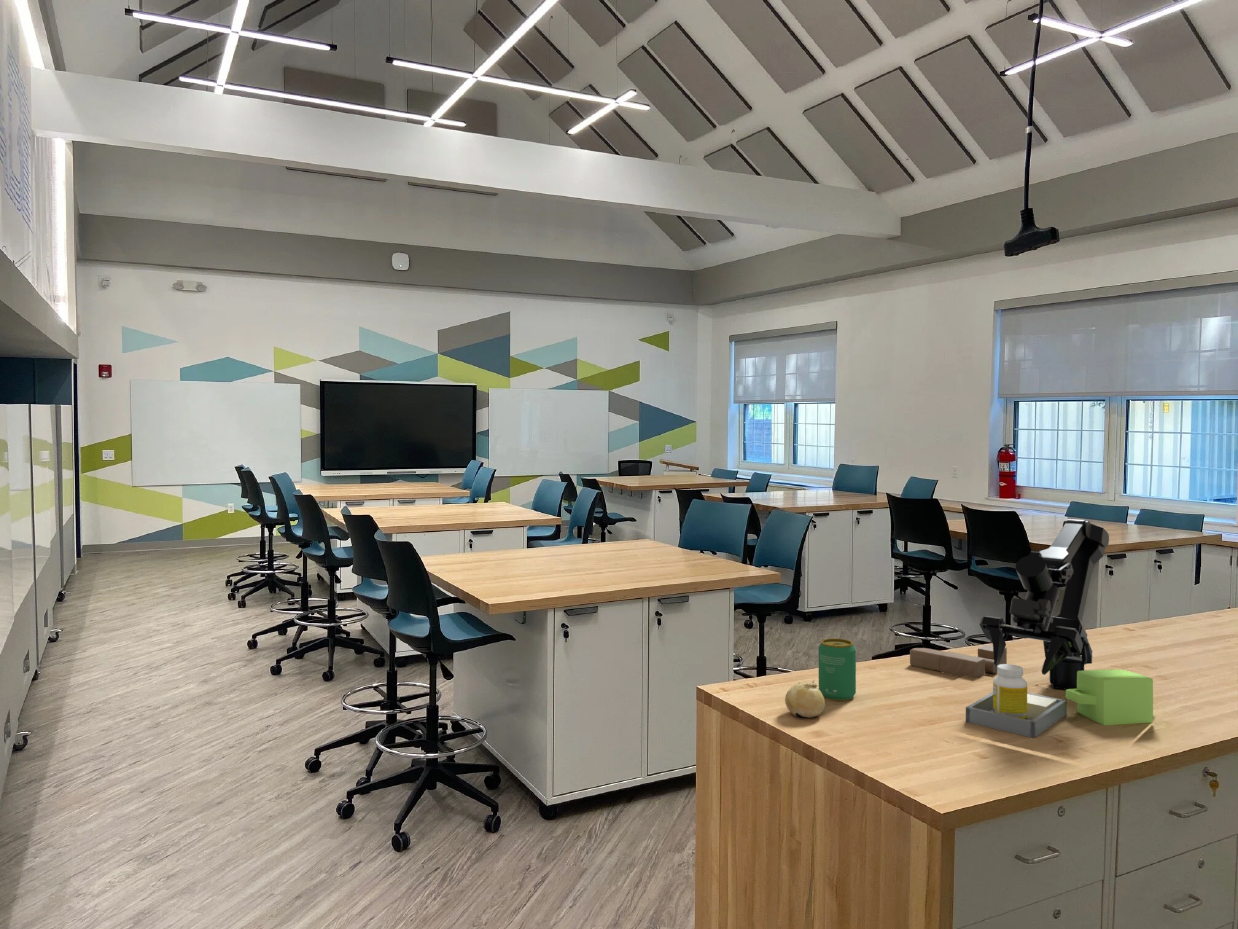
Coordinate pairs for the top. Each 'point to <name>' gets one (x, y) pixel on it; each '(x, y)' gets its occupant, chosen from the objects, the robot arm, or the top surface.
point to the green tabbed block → (1113, 696)
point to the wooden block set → (957, 661)
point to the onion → (805, 700)
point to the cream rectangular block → (1038, 705)
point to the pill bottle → (1010, 691)
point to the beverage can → (837, 669)
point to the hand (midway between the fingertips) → (1018, 669)
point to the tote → (986, 717)
